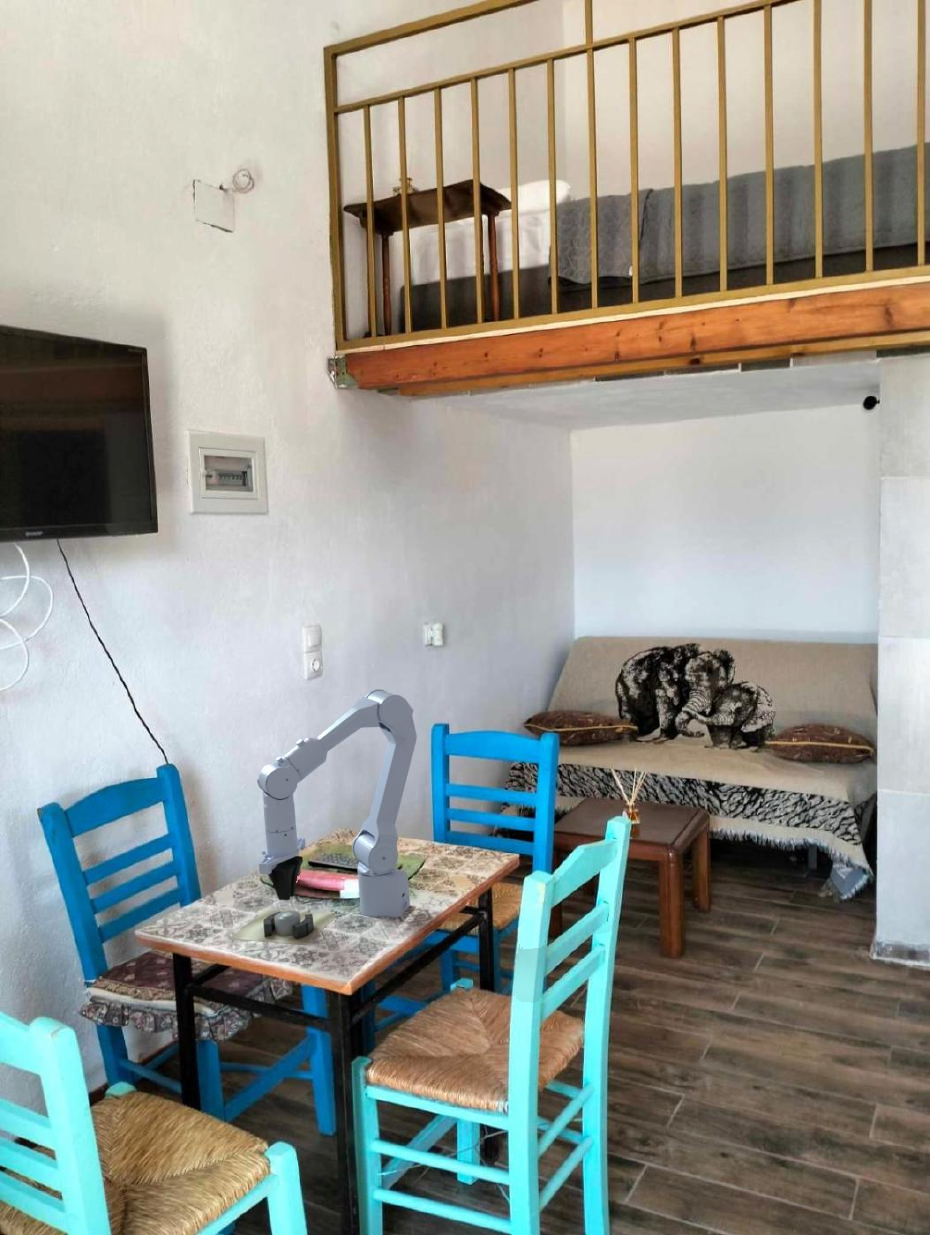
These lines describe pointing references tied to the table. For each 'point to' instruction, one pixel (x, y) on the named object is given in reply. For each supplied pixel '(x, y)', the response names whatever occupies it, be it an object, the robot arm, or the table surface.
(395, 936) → the table surface
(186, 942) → the table surface
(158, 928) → the table surface
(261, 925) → the board
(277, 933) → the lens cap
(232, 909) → the table surface
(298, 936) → the split dark grey block
